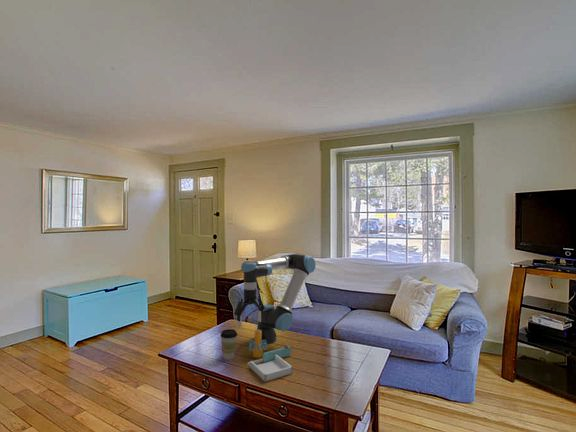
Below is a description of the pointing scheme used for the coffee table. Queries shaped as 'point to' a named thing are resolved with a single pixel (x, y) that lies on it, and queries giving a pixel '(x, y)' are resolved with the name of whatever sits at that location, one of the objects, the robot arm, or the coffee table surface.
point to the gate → (280, 352)
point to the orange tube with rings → (258, 344)
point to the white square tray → (271, 368)
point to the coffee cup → (228, 343)
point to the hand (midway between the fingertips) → (249, 323)
